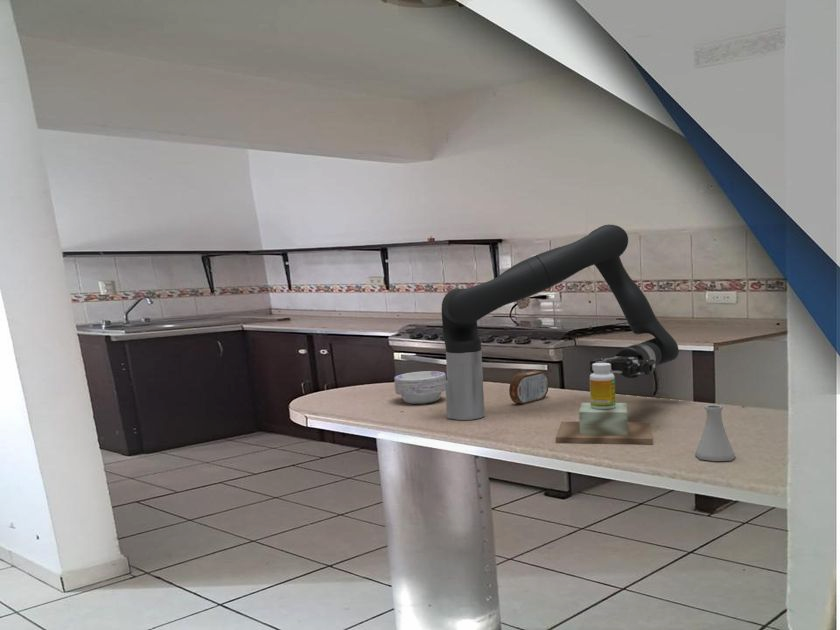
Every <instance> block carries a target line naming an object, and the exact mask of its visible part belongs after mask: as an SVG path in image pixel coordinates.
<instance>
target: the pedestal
mask: <svg viewBox="0 0 840 630" xmlns="http://www.w3.org/2000/svg"><path fill="white" fill-rule="evenodd" d="M578 418H579V419H578V420H579V421H570V420H569V421H564V420H563V421H560V424H559V427H558V429H557V433H556V436H555V443H557V444H559V443H560V444H600V445H601V444H604V445H605V444H608V445H609V444H610V445H611V444H612V445H616V444H617V445H654V438H653V432H652V426H651V425H652V424H651V422H649V421H639V422H638V421H628V403H627V402H616V406H615V408H612V409H595V408H592V407H591V402H581V403H580V407H579V411H578Z"/></svg>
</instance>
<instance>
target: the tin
mask: <svg viewBox="0 0 840 630" xmlns="http://www.w3.org/2000/svg"><path fill="white" fill-rule="evenodd" d="M548 391H549V377H548V375H547V373H546V372H544V371H541V370H535V369H534V370H529V371H525V372H520V373H517V374H515V375H514V376H513V377H512V379H511V381H510V383H509V389H508V393H509V397H510V400H511V401H512V402H513V403H515V404H521V405H525V404H528V403H533V402H537V401H541V400H543V399H544V398H545V397H546V396H547V394H548Z"/></svg>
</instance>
